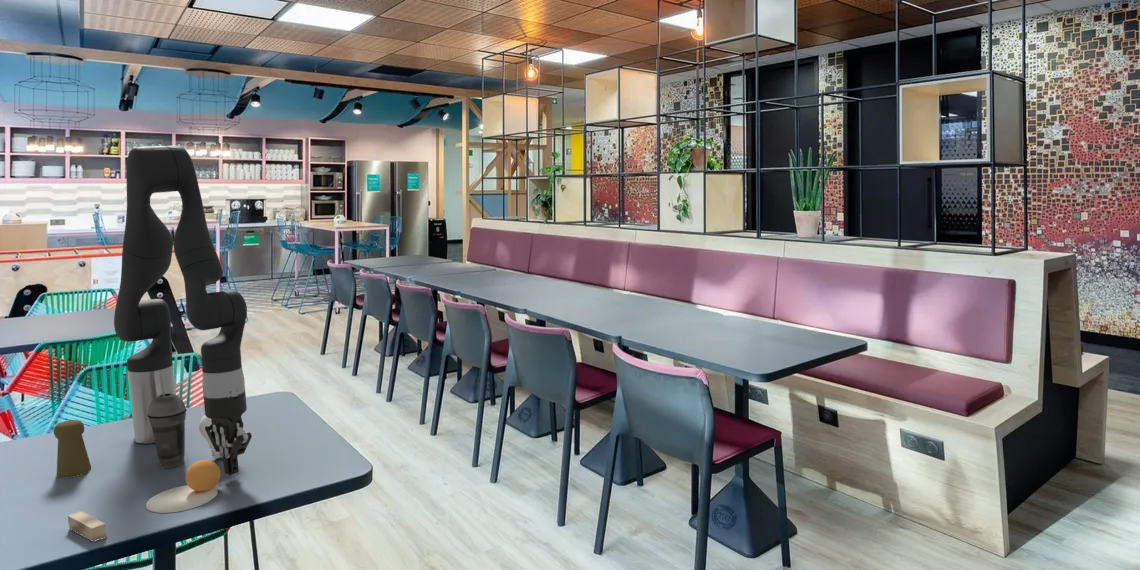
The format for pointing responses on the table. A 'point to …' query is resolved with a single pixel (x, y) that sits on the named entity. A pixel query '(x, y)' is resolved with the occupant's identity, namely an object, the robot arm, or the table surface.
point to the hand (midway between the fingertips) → (231, 473)
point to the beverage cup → (168, 428)
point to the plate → (179, 499)
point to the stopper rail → (87, 525)
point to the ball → (202, 475)
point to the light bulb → (203, 423)
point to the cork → (71, 449)
